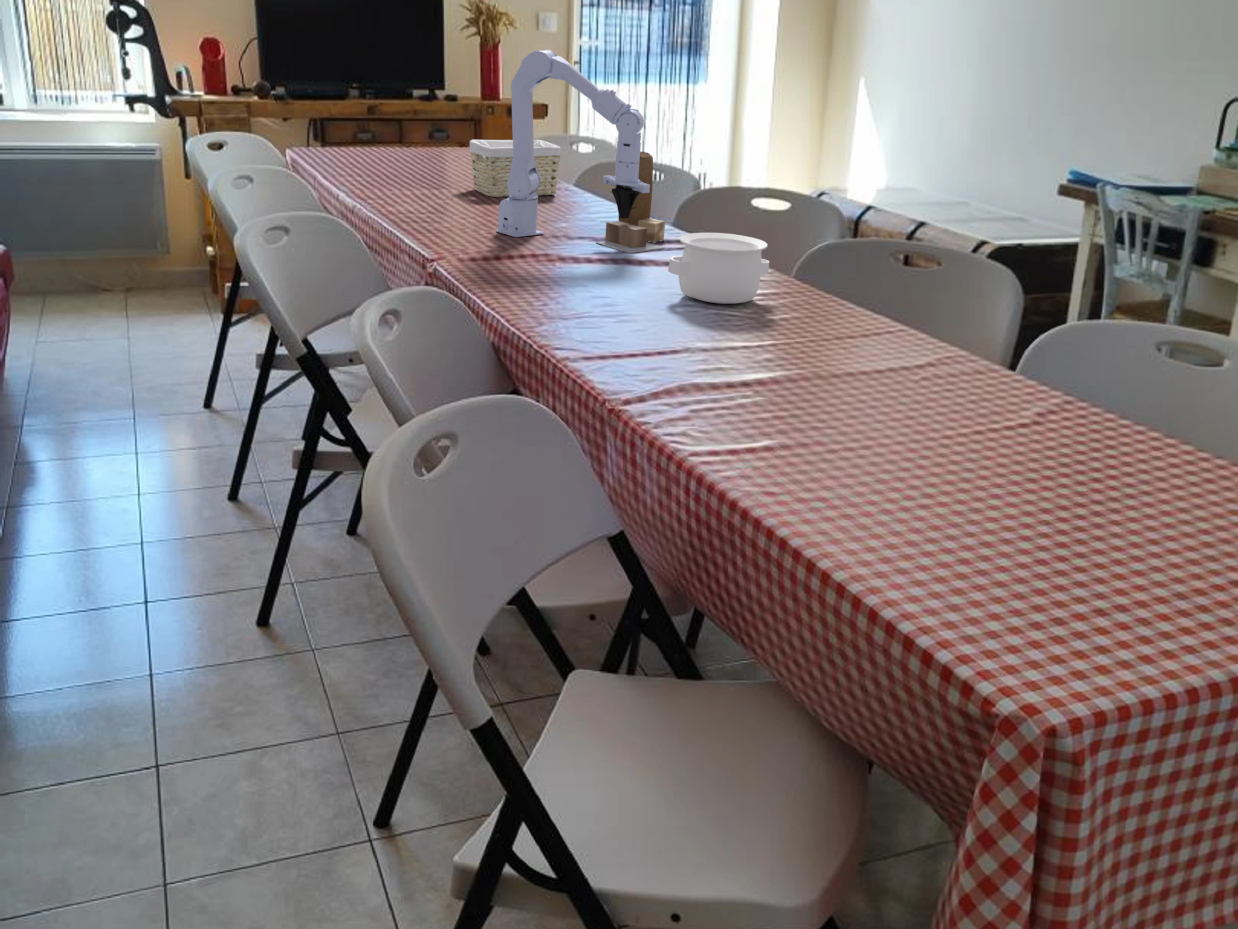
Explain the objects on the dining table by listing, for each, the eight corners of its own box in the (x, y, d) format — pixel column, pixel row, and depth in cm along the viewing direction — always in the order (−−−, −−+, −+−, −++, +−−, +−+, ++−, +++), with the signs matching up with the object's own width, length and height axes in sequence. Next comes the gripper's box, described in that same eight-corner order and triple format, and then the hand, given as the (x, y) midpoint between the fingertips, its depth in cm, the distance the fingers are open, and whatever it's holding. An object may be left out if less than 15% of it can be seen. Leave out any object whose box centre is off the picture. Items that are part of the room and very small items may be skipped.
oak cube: (653, 243, 290) (655, 223, 288) (636, 240, 292) (638, 220, 290) (663, 240, 294) (665, 221, 292) (646, 237, 296) (648, 218, 294)
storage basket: (486, 198, 333) (487, 146, 328) (466, 188, 346) (467, 138, 341) (561, 197, 344) (563, 146, 338) (538, 187, 357) (540, 138, 352)
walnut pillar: (605, 240, 287) (632, 248, 281) (606, 222, 285) (634, 229, 279) (618, 238, 290) (645, 246, 284) (619, 220, 288) (647, 228, 282)
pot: (682, 311, 230) (687, 250, 225) (654, 289, 245) (658, 232, 240) (782, 309, 236) (789, 250, 232) (748, 288, 251) (755, 232, 247)
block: (650, 234, 300) (656, 155, 292) (622, 233, 298) (628, 154, 291) (640, 225, 310) (646, 149, 302) (613, 225, 308) (618, 148, 300)
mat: (629, 253, 276) (629, 251, 276) (596, 243, 284) (596, 242, 284) (664, 248, 284) (664, 247, 284) (631, 239, 292) (631, 238, 292)
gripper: (660, 165, 276) (655, 221, 282) (619, 156, 286) (615, 211, 291) (639, 166, 272) (635, 224, 277) (598, 157, 281) (595, 213, 287)
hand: (623, 217), depth 284 cm, fingers closed
